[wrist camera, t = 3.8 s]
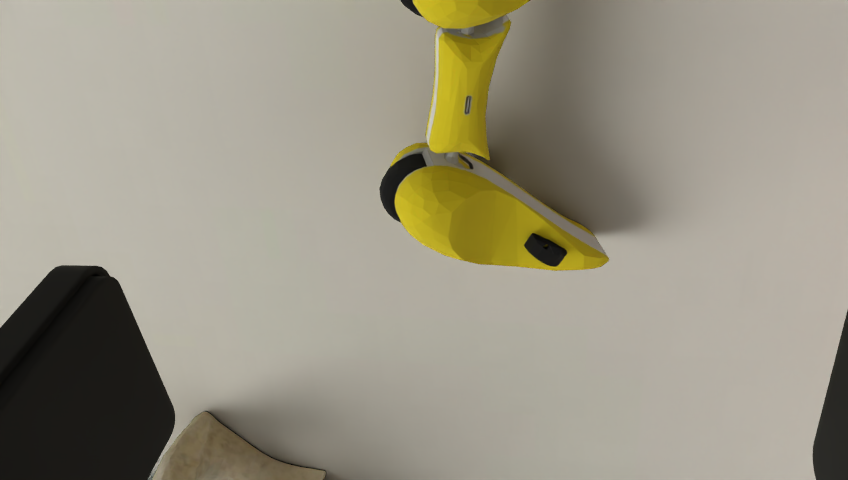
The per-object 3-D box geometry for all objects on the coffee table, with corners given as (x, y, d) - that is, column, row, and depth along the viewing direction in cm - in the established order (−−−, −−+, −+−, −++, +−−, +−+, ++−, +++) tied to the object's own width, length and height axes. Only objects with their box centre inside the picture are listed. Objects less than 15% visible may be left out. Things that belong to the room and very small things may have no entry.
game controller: (380, -172, 16) (413, -135, 14) (660, -157, 18) (741, -121, 15) (364, 221, 22) (384, 302, 19) (575, 210, 23) (622, 284, 21)
